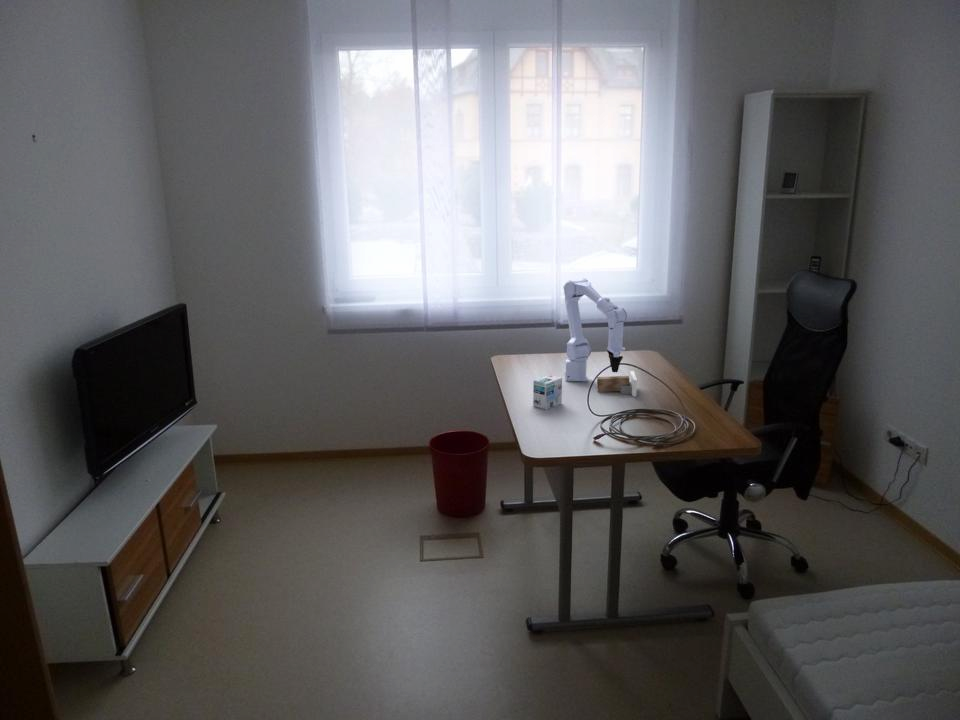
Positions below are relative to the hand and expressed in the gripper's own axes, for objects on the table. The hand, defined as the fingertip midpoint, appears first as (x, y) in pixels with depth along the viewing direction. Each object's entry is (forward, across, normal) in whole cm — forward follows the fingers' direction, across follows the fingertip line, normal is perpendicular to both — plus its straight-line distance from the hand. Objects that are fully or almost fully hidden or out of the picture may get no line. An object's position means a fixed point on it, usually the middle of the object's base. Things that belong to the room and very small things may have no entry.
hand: (614, 369), depth 287 cm
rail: (+9, 0, 0) cm, 9 cm away
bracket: (+9, 0, -5) cm, 11 cm away
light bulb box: (+10, -20, +27) cm, 35 cm away
